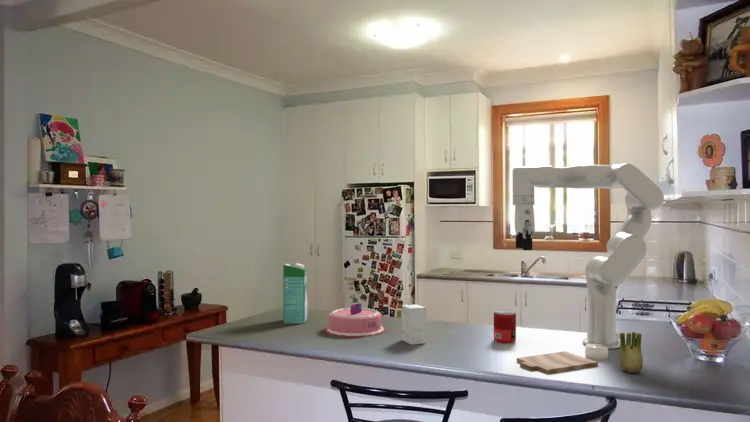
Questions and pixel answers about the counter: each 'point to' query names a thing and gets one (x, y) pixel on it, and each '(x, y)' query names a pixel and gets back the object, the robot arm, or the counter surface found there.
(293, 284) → the milk carton
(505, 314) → the canned food
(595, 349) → the white rounded block
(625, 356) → the fennel bulb
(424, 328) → the small box
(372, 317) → the cake
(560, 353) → the board
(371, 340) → the counter surface
